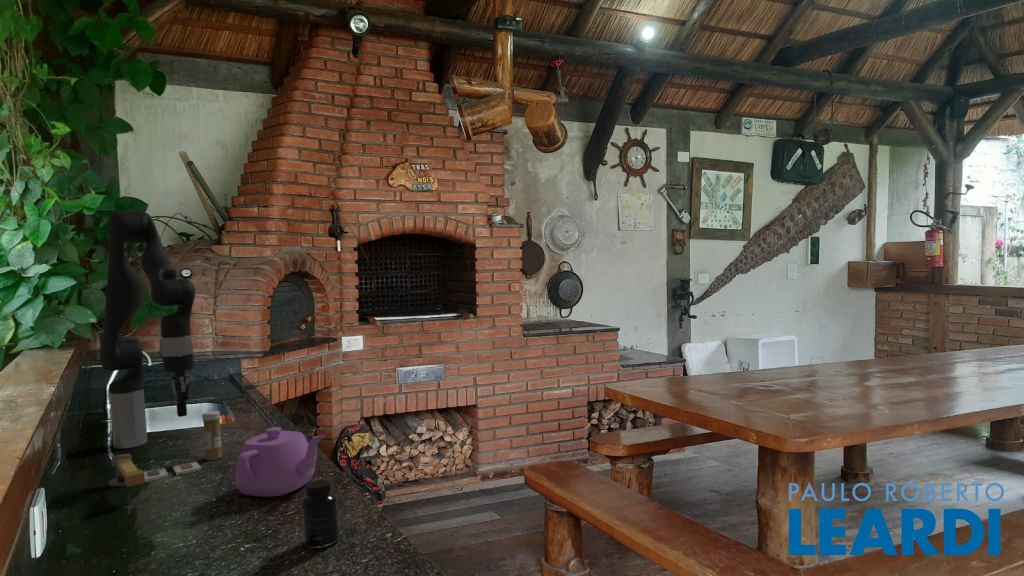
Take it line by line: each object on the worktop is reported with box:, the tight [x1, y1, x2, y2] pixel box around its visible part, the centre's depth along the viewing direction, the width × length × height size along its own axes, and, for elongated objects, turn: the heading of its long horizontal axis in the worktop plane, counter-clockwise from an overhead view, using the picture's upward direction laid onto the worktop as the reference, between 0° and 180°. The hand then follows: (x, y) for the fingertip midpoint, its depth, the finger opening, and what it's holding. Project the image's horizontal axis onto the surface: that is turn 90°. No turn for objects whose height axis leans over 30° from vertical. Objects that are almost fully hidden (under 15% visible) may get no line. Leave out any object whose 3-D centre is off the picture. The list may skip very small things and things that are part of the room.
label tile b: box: [172, 460, 202, 476], centre depth 177 cm, size 7×6×1 cm
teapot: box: [234, 426, 326, 498], centre depth 157 cm, size 23×21×15 cm
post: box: [108, 467, 127, 488], centre depth 169 cm, size 6×6×5 cm
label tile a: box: [143, 467, 169, 483], centre depth 173 cm, size 7×6×1 cm
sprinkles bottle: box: [201, 410, 223, 461], centre depth 187 cm, size 5×5×14 cm
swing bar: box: [111, 453, 146, 488], centre depth 161 cm, size 4×22×2 cm, turn 39°
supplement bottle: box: [301, 479, 340, 547], centre depth 129 cm, size 7×7×12 cm
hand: (182, 415), depth 176 cm, fingers closed
